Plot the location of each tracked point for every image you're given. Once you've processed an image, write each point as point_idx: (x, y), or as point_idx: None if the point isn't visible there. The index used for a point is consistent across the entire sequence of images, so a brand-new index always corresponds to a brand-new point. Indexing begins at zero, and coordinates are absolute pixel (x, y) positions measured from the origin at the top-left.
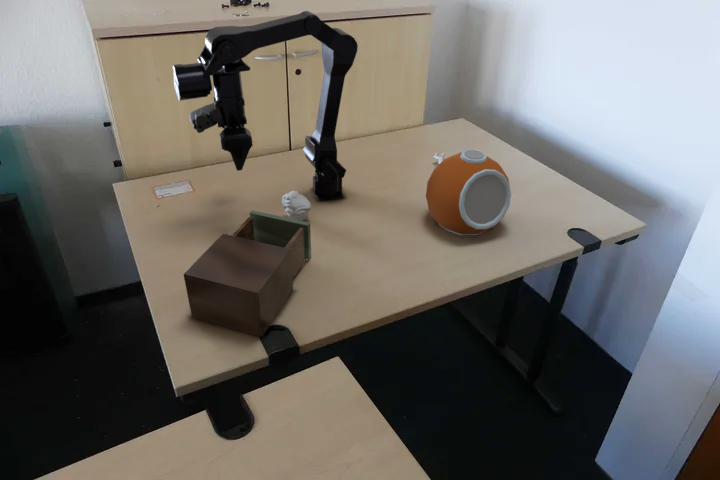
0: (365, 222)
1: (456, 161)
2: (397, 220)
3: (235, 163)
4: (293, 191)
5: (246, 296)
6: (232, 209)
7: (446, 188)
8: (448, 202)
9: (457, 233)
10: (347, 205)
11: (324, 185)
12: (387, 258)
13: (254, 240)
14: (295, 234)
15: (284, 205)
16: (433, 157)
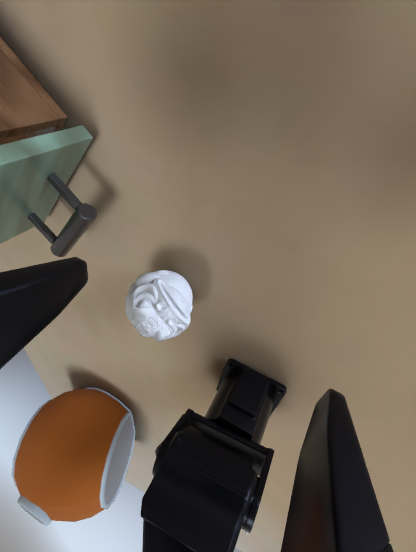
0: (135, 350)
1: (34, 497)
2: (129, 377)
3: (9, 275)
4: (157, 335)
5: None
6: (326, 162)
7: (32, 444)
8: (38, 422)
9: (88, 388)
10: (193, 372)
11: (218, 397)
12: None
13: (35, 129)
14: None
15: (148, 284)
16: None
